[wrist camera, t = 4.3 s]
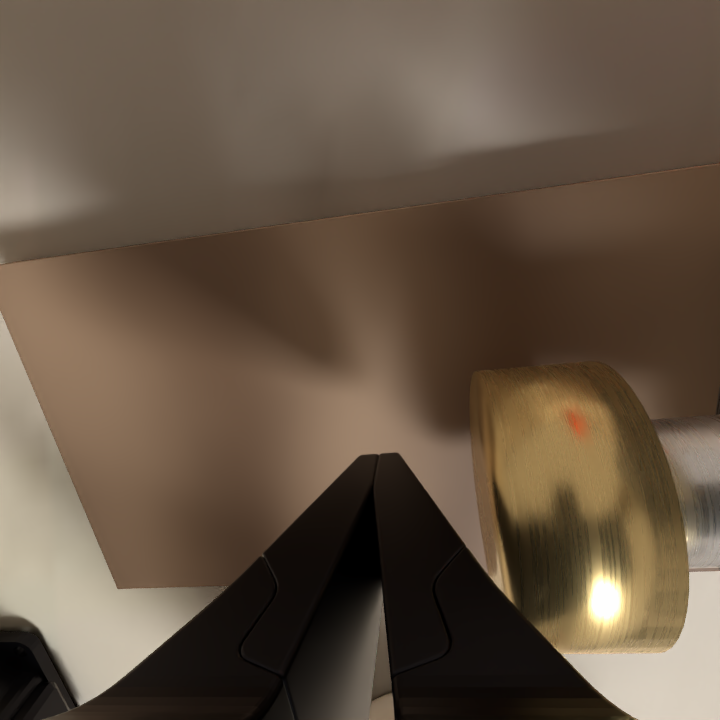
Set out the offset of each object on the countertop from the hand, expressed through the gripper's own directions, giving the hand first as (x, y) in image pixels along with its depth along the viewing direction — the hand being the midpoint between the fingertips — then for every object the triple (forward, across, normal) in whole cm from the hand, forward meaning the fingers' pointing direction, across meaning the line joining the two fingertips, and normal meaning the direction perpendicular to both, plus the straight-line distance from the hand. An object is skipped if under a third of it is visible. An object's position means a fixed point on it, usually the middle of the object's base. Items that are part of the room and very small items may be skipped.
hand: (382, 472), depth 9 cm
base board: (+3, -2, 0) cm, 4 cm away
